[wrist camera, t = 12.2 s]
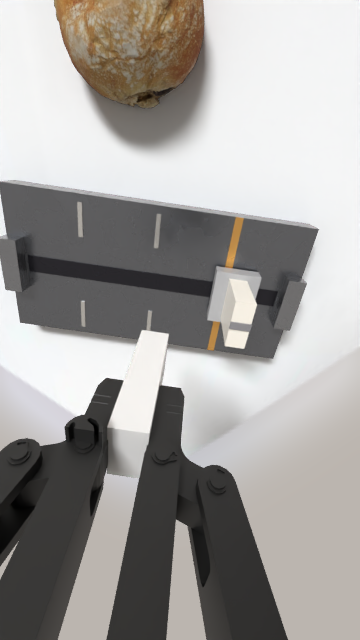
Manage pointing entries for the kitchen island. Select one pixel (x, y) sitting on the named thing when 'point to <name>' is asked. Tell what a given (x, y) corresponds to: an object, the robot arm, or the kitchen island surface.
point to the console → (145, 265)
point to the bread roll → (132, 45)
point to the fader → (234, 303)
